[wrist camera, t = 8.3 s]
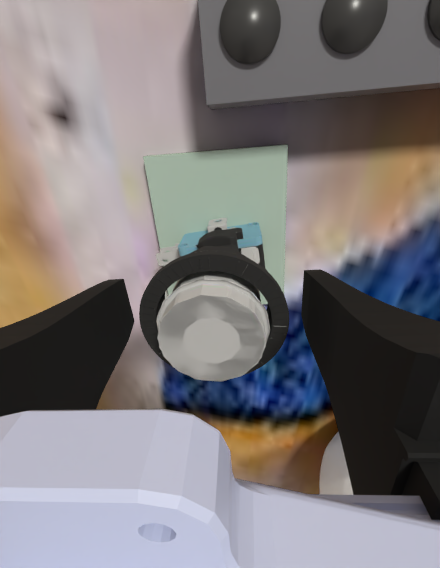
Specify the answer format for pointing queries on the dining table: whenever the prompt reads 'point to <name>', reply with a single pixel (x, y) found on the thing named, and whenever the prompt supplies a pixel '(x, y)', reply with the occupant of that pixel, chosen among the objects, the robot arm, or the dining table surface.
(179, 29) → the dining table surface
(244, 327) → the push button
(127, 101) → the dining table surface
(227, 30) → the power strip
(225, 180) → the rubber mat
